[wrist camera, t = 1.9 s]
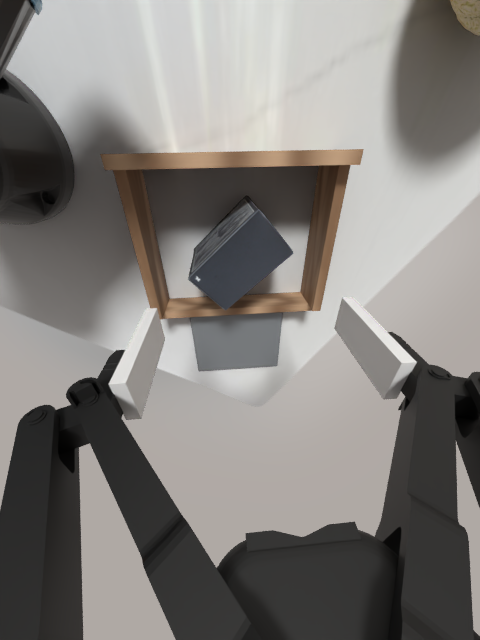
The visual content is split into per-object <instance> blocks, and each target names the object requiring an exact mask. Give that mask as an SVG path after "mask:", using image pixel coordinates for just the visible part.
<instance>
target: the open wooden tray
mask: <svg viewBox="0 0 480 640" xmlns="http://www.w3.org/2000/svg"><path fill="white" fill-rule="evenodd" d="M362 154H363V149H356V150H302V151H248V152H195V153H141V154H100V155H101V159H102V162H103V166H104V169H105V170H113V172H114V175H115V179H116V183H117V186H118V190H119V194H120V198H121V201H122V205H123V209H124V212H125V216H126V220H127V223H128V227H129V231H130V234H131V238H132V242H133V245H134V249H135V253H136V257H137V260H138V264H139V268H140V271H141V275H142V279H143V282H144V286H145V290H146V293H147V297H148V301H149V304H150V308H157V310H158V314H159V318H160V319H167V318H185V317H203V316H221V315H239V314H257V313H275V312H293V311H320V309H321V305H322V300H323V295H324V290H325V285H326V280H327V276H328V271H329V266H330V261H331V256H332V252H333V247H334V242H335V237H336V232H337V227H338V223H339V218H340V213H341V208H342V203H343V198H344V194H345V189H346V184H347V179H348V174H349V169H350V165H360V163H361V158H362ZM318 165H319V167H318V174H317V181H316V188H315V195H314V202H313V209H312V216H311V223H310V230H309V237H308V244H307V251H306V258H305V265H304V272H303V279H302V286H301V292H294V293H274V294H255V295H243V296H242V297H241V298H240V299H239V300H238V301H236V302H235V303H234V304H233V305H232V306H231V307H229V308H228V309H227V310H224V309H223V308H221V307H220V306H219V305H218V304H217V303H215V302H214V301H213V300H212V299H211V298H209V297H196V298H176V299H169V294H168V290H167V285H166V280H165V275H164V271H163V266H162V261H161V257H160V252H159V247H158V242H157V238H156V233H155V228H154V224H153V219H152V214H151V209H150V205H149V200H148V195H147V191H146V186H145V181H144V176H143V172H142V169H183V168H228V167H273V166H318Z"/></svg>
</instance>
